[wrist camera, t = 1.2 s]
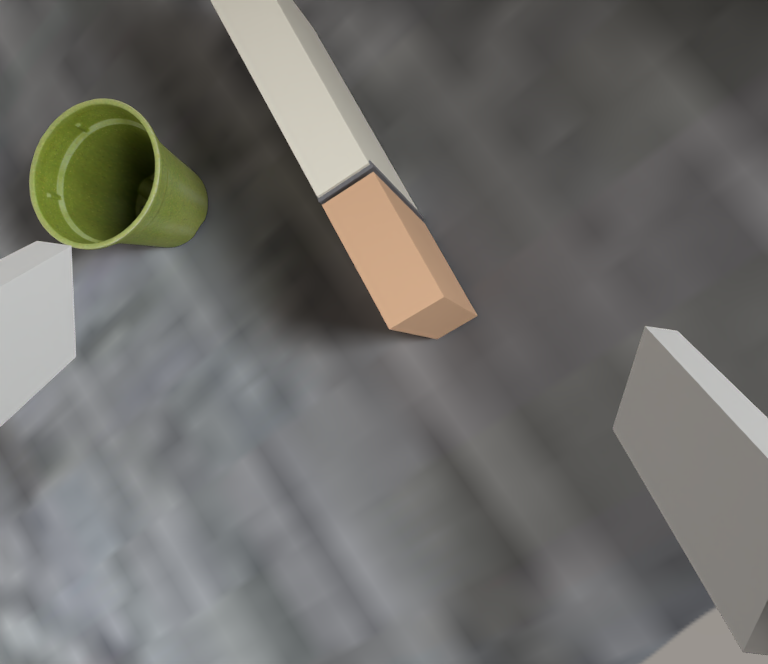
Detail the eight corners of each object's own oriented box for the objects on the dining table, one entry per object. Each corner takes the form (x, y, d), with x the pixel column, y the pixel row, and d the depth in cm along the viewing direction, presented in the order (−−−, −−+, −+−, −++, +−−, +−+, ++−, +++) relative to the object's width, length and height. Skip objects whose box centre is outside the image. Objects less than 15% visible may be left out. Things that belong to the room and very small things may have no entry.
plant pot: (109, 163, 51) (19, 123, 42) (218, 128, 48) (145, 78, 40) (128, 282, 50) (39, 265, 41) (239, 251, 47) (170, 227, 39)
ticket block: (314, 27, 46) (227, -91, 34) (425, 220, 44) (372, 165, 32) (278, 54, 47) (179, -53, 35) (384, 245, 44) (317, 201, 32)
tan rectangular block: (424, 223, 43) (373, 171, 32) (477, 315, 42) (444, 296, 30) (386, 247, 44) (321, 205, 32) (437, 339, 43) (389, 329, 31)
